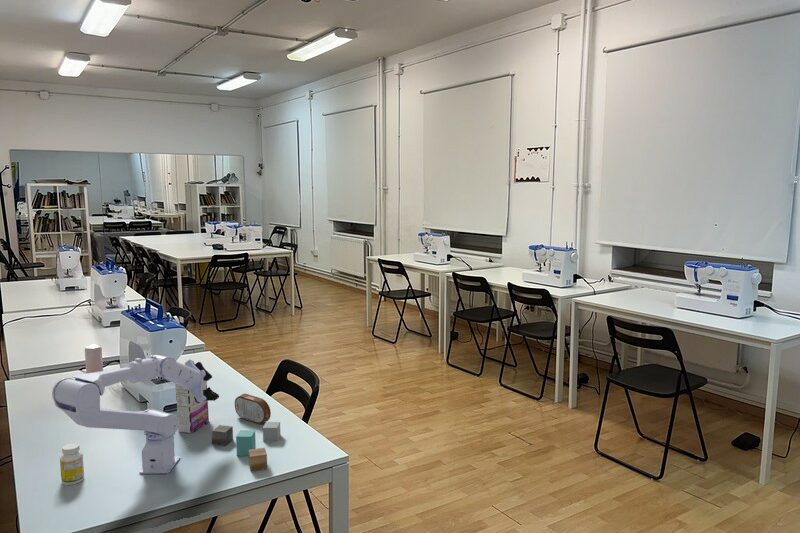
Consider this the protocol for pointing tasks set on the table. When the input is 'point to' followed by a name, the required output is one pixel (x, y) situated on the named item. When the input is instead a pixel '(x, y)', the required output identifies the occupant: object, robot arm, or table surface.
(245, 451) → the teal block
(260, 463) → the walnut block
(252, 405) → the tin
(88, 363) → the beverage can
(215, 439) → the charcoal block
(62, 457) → the supplement bottle
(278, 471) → the table surface
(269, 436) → the slate-grey block
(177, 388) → the candy bar box
